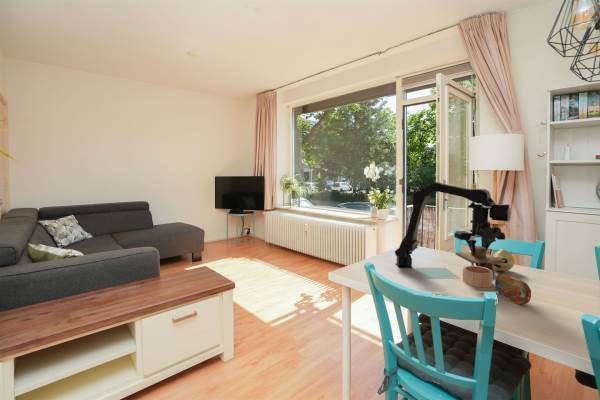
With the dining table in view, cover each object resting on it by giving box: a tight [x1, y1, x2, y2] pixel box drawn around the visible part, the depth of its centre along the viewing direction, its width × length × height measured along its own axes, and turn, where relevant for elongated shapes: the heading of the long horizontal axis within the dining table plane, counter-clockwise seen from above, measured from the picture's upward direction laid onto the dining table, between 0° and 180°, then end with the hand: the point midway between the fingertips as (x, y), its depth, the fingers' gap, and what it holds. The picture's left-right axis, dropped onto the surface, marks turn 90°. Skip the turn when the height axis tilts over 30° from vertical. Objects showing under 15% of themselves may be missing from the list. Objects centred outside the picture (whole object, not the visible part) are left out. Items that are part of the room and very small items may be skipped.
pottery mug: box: [470, 263, 495, 275], centre depth 146 cm, size 12×10×8 cm
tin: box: [494, 273, 532, 305], centre depth 116 cm, size 15×3×8 cm, turn 5°
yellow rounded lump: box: [491, 248, 515, 274], centre depth 147 cm, size 10×12×11 cm
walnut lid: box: [455, 245, 504, 264], centre depth 131 cm, size 13×13×5 cm
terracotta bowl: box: [462, 265, 494, 288], centre depth 132 cm, size 11×11×6 cm
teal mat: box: [415, 267, 462, 280], centre depth 144 cm, size 15×15×1 cm
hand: (478, 255), depth 131 cm, fingers closed on walnut lid, 4 cm apart
